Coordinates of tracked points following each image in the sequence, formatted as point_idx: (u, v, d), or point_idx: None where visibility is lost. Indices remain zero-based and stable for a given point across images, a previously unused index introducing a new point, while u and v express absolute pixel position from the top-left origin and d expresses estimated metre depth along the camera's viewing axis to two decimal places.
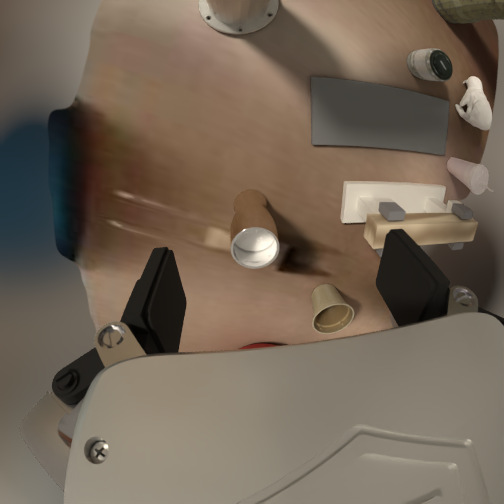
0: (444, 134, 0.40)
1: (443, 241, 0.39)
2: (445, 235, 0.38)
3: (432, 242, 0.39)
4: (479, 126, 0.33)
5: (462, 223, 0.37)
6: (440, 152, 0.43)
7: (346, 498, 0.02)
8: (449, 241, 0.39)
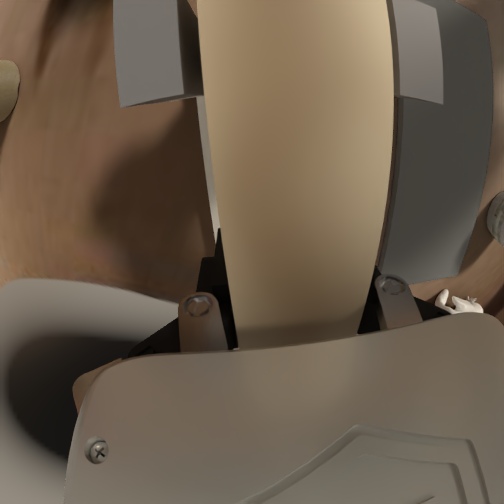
0: (413, 279, 0.25)
1: None
2: None
3: (248, 343, 0.08)
4: None
5: None
6: None
7: (346, 498, 0.02)
8: None
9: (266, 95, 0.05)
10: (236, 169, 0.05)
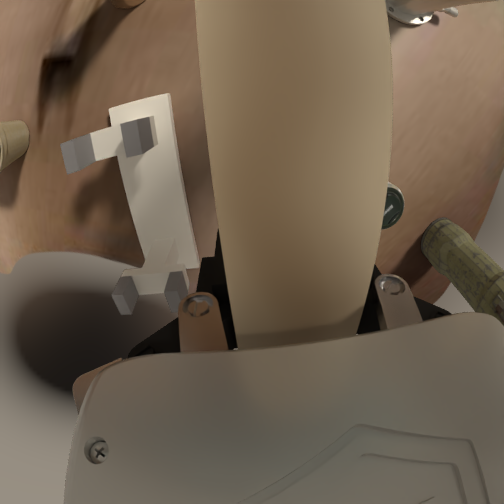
0: None
1: None
2: None
3: (247, 344, 0.08)
4: None
5: None
6: None
7: (346, 498, 0.02)
8: None
9: (265, 97, 0.05)
10: (234, 171, 0.05)
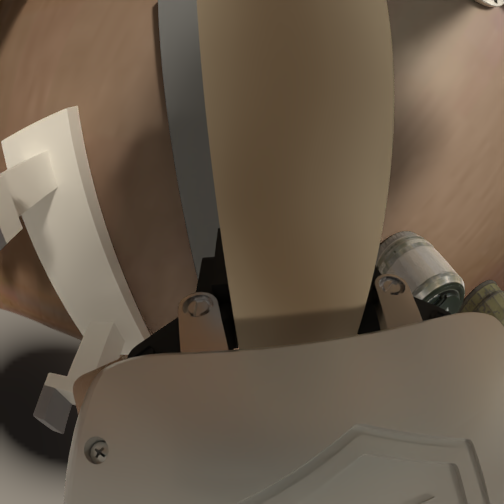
0: None
1: None
2: None
3: (248, 345, 0.08)
4: None
5: None
6: None
7: (346, 498, 0.02)
8: None
9: (267, 98, 0.05)
10: (236, 172, 0.05)
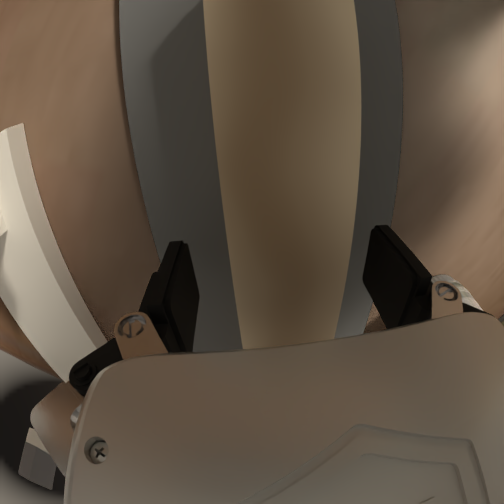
0: None
1: None
2: None
3: (245, 307, 0.10)
4: None
5: None
6: None
7: (346, 498, 0.02)
8: None
9: (258, 96, 0.06)
10: (235, 153, 0.07)
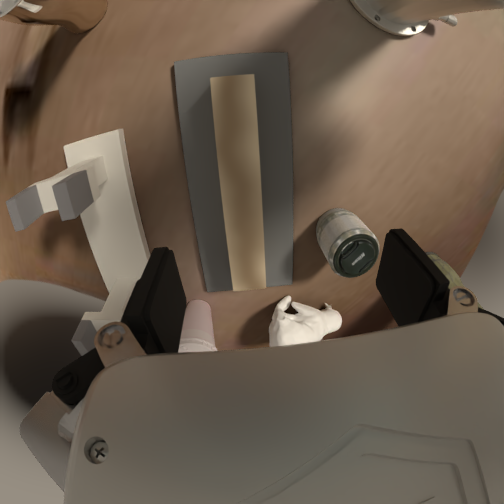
0: None
1: (228, 224, 0.28)
2: (240, 223, 0.28)
3: (225, 198, 0.27)
4: (274, 338, 0.35)
5: (263, 254, 0.31)
6: (209, 283, 0.37)
7: (346, 498, 0.02)
8: (229, 238, 0.29)
9: (227, 129, 0.23)
10: (221, 145, 0.24)
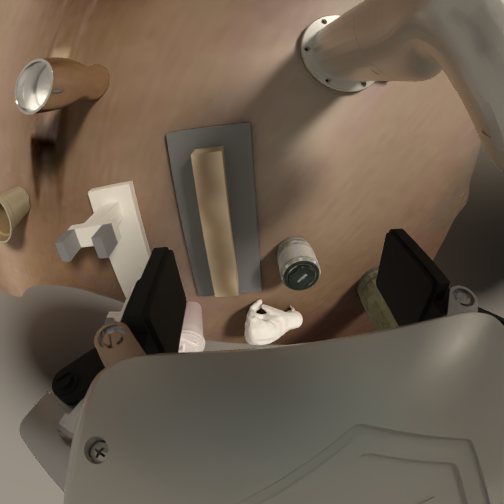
0: None
1: (209, 253, 0.41)
2: (217, 252, 0.41)
3: (205, 236, 0.39)
4: (246, 331, 0.48)
5: (235, 272, 0.43)
6: (199, 290, 0.50)
7: (346, 498, 0.02)
8: (210, 262, 0.42)
9: (204, 191, 0.36)
10: (201, 201, 0.36)
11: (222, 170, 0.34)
